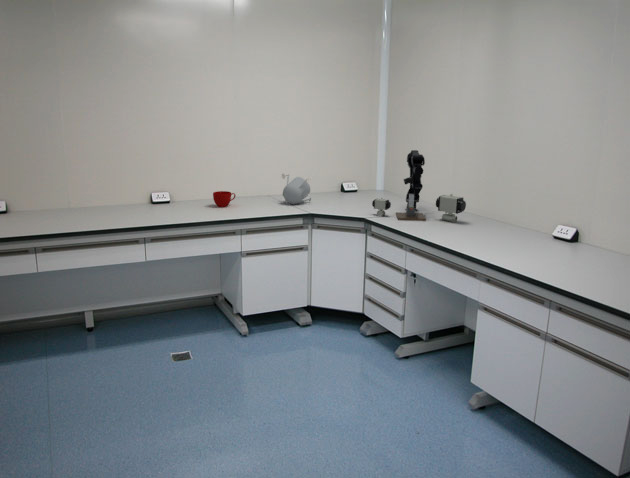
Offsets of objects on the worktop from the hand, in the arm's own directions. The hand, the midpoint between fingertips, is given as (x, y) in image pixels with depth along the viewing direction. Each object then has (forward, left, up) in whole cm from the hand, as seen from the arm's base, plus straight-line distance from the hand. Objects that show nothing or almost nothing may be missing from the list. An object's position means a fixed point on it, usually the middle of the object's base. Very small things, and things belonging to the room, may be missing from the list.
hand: (415, 196), depth 367 cm
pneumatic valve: (+18, -14, -13) cm, 26 cm away
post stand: (+8, +3, -13) cm, 16 cm away
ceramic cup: (+83, -107, -13) cm, 136 cm away
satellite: (+35, -83, -13) cm, 91 cm away
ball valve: (-4, +26, -13) cm, 29 cm away
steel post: (+8, +3, -7) cm, 11 cm away
